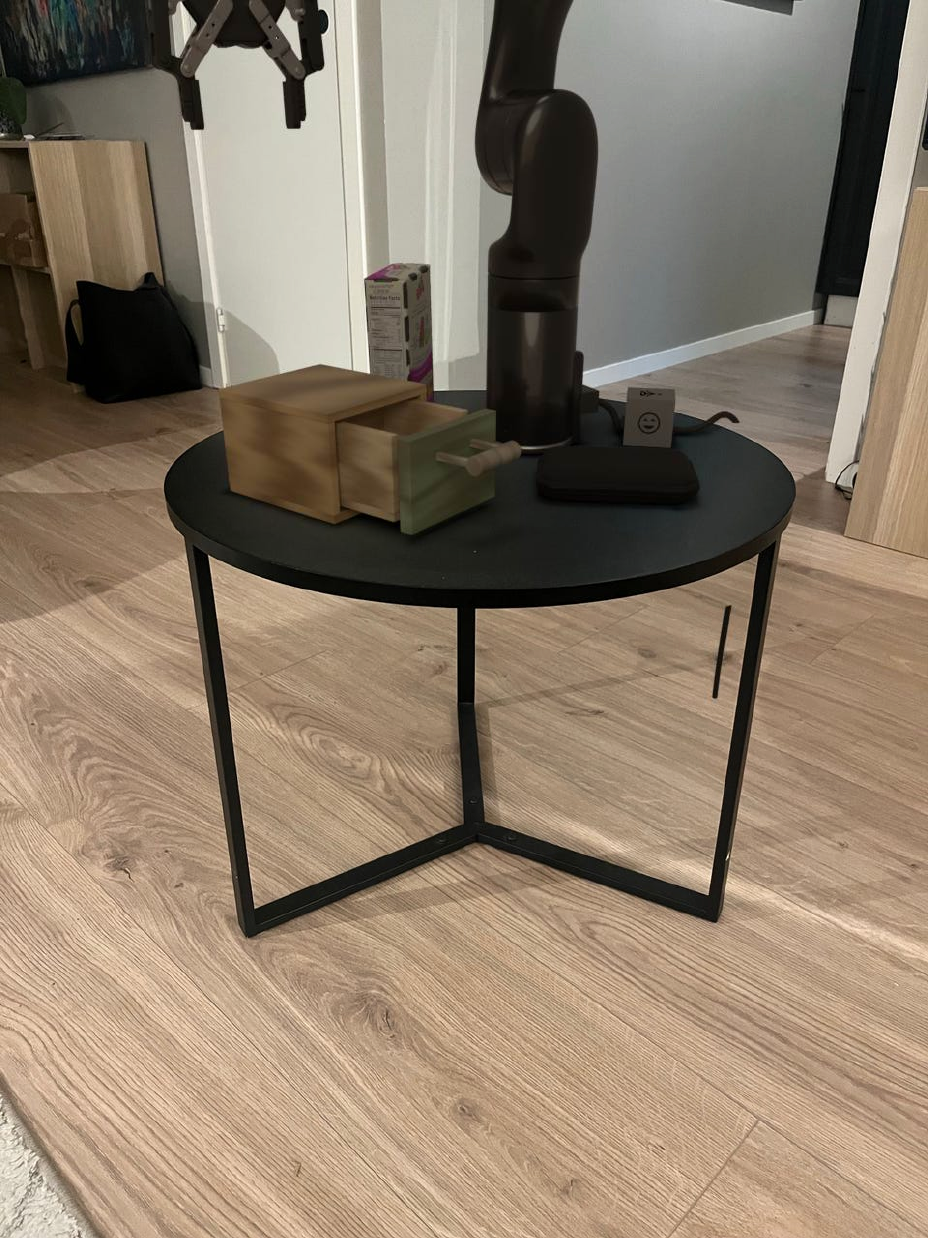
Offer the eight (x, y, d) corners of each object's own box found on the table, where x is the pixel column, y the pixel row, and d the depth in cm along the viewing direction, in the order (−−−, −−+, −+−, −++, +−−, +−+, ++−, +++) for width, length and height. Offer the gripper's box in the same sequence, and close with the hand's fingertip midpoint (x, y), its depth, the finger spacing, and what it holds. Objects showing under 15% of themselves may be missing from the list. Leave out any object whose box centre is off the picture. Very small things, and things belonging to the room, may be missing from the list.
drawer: (539, 508, 82) (543, 420, 79) (458, 549, 74) (457, 453, 71) (390, 469, 92) (387, 388, 88) (303, 502, 84) (296, 414, 80)
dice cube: (624, 431, 106) (627, 386, 104) (670, 434, 105) (674, 388, 103) (623, 445, 102) (626, 398, 99) (670, 447, 101) (675, 400, 99)
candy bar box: (395, 404, 116) (390, 262, 109) (435, 406, 116) (433, 263, 108) (369, 429, 107) (361, 275, 99) (412, 432, 106) (408, 277, 98)
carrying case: (687, 471, 94) (538, 466, 95) (691, 441, 92) (539, 436, 94) (700, 510, 84) (534, 504, 86) (704, 477, 83) (535, 472, 84)
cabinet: (428, 485, 90) (426, 384, 86) (334, 524, 82) (327, 414, 77) (326, 458, 98) (320, 363, 93) (230, 491, 89) (218, 388, 84)
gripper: (295, -86, 81) (310, 128, 89) (122, -101, 75) (154, 129, 83) (325, -102, 75) (338, 129, 83) (140, -120, 69) (172, 130, 77)
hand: (246, 129), depth 83 cm, fingers open, 8 cm apart
